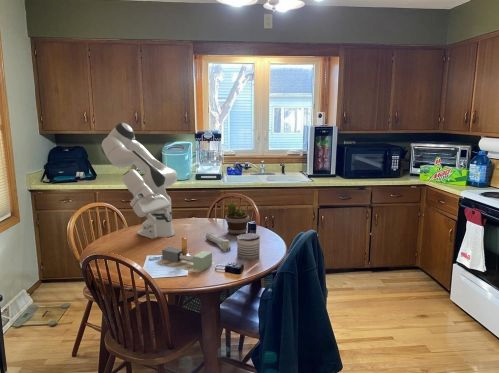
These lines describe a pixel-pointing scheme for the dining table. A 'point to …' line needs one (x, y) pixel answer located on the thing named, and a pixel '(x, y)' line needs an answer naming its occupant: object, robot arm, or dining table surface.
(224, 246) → the grey-green long bar
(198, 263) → the socket block
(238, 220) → the flowerpot
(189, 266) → the base board
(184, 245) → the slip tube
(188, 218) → the dining table surface
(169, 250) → the dark grey rectangular block
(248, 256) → the can
